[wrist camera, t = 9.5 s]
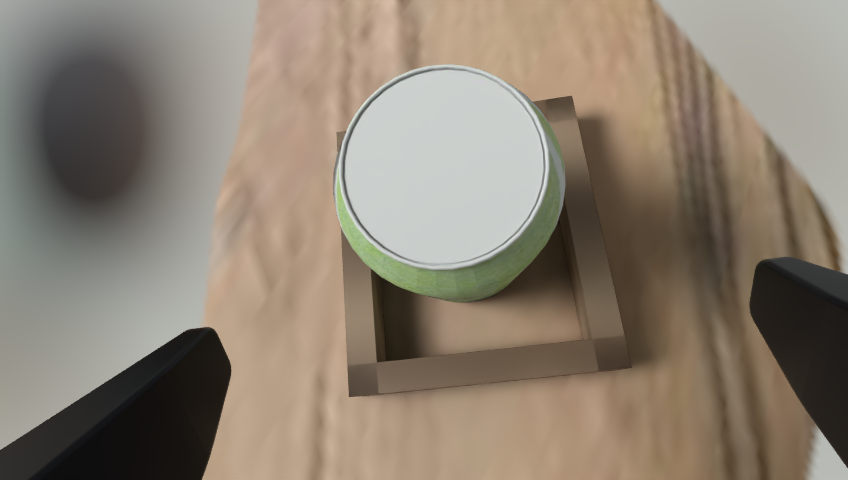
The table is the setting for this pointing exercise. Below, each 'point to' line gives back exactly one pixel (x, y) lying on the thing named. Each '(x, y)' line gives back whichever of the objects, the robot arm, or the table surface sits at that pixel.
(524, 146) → the beverage can
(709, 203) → the table surface
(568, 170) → the walnut collar
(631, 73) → the table surface
